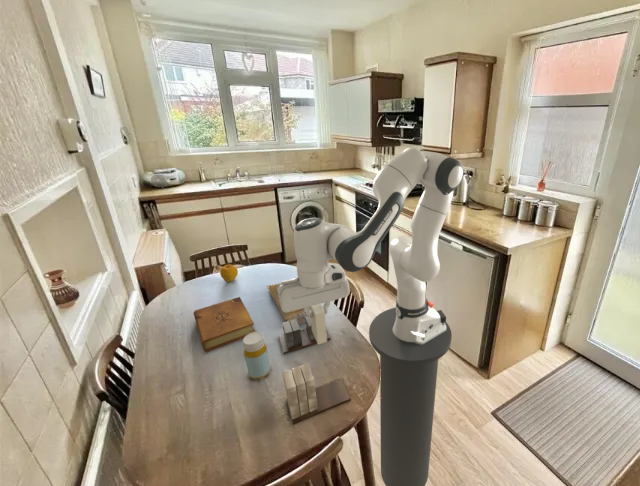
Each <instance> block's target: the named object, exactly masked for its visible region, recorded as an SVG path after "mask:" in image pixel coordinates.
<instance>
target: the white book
mask: <svg viewBox="0 0 640 486" xmlns="http://www.w3.org/2000/svg"><path fill="white" fill-rule="evenodd" d="M322 307H323V306H322V303H321V304H317V305H314V306H310V310H312V312H313V316H314V317H312V318H311V325H312V332H313V334H314V337H315V339H316V341H317V344H316V345H318V346H319V345H322V344H325V343H328V340H327V335H326V331H327V323H326V314H325V312H324V310H323V308H322Z"/></svg>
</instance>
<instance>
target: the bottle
mask: <svg viewBox="0 0 640 486" xmlns="http://www.w3.org/2000/svg"><path fill="white" fill-rule="evenodd" d="M242 343H243V347H244V348H243V349H244V350H243V354H244V360H245V363H246V368H247V372H248V376H249V378H251V379H252V380H261V379H264V378H265V377H267V376H268V375H269V373H270V372H271V363H270V359H269V352H268V349H267V347H268V346H267V344H266V343H265V340H264V334H263V333H261V332H259V331H255V332H253V333H250V334H248V335H246V336H245V337H244V339H242Z"/></svg>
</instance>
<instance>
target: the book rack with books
mask: <svg viewBox="0 0 640 486" xmlns="http://www.w3.org/2000/svg"><path fill="white" fill-rule="evenodd" d="M282 378H283V384H284V390H285V395H286V396H285V397H286V404H287V407H288V411H289V415H290V416H289V417H290V420H291V423H292V425H293V426H294V425H296V424H298V423H301V422H303V421H306V420H308V419H310V418H314V417H315V416H318V415H320V414H322V413H325V412H327V411H329V410H332V409H335V408H337V407H339V406H341V405H344V404H347V403H349V402H351V401H352V399H351V396H350V394H349V392H348V390H347V387H346V385H345V383H344V381H343V379H342V378H341V377H340V378H337V379H335V380H332V381H330V382H327V383H325V384H322V385H319V386H316V384H315V378H314V376H313V372H312V370H311V368H310V365H309V363H308V362H307V363H304V364H302V365H300V366H296V367H293V368H289V369H286V370H285V371H282Z"/></svg>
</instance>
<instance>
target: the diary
mask: <svg viewBox="0 0 640 486" xmlns="http://www.w3.org/2000/svg"><path fill="white" fill-rule="evenodd" d="M193 317H194V320H195V325H196V329H197V333H198V337H199V340H200V344H201V347H202V350H203V353H209V352H212V351H214V350H217V349H220V348H222V347H225V346H228V345H230V344H233V343H235V342H238V341H241V340H243V339H244V337H245V336H246V335H248V334H250V333H253V332H256V330H255V328H254V327H253V326H254V325H255V324H254V321H253V318H252V317H251V315H250V313H249V312H248V309H247V308H246V306H245V304H244V302H243V300H242V298H241V296H238V297H234V298H230V299H227V300H224V301H221V302H217V303H215V304H212V305H208V306H205V307H202V308H199V309H196V310H194V311H193Z"/></svg>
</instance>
